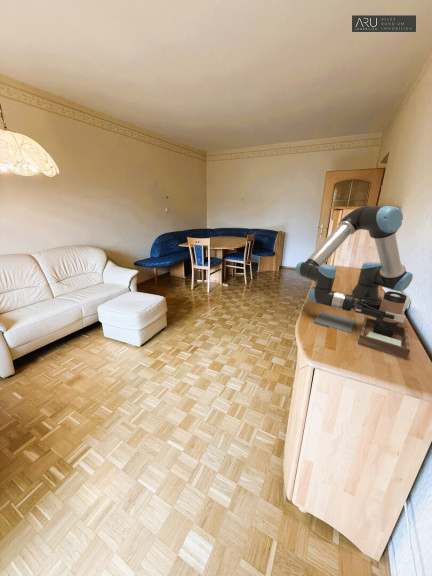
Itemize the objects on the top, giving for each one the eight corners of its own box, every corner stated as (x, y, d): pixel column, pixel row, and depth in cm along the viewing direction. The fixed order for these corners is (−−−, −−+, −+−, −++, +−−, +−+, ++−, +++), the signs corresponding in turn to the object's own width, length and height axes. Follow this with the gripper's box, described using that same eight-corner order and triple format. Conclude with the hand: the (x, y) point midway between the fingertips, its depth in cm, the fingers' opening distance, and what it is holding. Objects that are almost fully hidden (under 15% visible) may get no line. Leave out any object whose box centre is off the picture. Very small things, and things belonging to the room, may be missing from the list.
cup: (379, 323, 113) (388, 295, 108) (373, 315, 122) (381, 289, 117) (404, 328, 109) (415, 299, 104) (397, 319, 119) (406, 292, 114)
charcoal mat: (321, 312, 123) (321, 310, 122) (354, 321, 114) (355, 320, 114) (313, 322, 110) (313, 321, 110) (350, 334, 102) (350, 332, 101)
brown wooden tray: (362, 325, 110) (365, 316, 109) (403, 336, 102) (407, 327, 100) (357, 344, 94) (360, 335, 92) (406, 360, 85) (410, 350, 83)
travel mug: (395, 341, 97) (411, 298, 91) (376, 339, 99) (390, 296, 92) (387, 332, 104) (400, 292, 98) (368, 330, 106) (381, 290, 99)
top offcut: (368, 334, 99) (369, 331, 98) (400, 343, 92) (401, 340, 92) (366, 340, 93) (367, 338, 92) (399, 351, 87) (400, 348, 86)
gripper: (344, 302, 117) (400, 315, 104) (337, 315, 101) (401, 333, 88) (348, 288, 114) (405, 300, 101) (341, 300, 98) (408, 316, 86)
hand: (403, 316), depth 95 cm, fingers closed on travel mug, 7 cm apart
